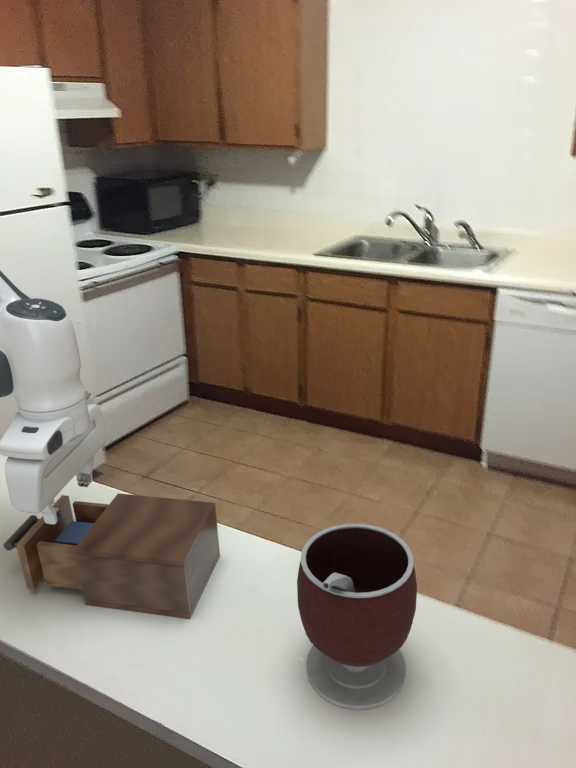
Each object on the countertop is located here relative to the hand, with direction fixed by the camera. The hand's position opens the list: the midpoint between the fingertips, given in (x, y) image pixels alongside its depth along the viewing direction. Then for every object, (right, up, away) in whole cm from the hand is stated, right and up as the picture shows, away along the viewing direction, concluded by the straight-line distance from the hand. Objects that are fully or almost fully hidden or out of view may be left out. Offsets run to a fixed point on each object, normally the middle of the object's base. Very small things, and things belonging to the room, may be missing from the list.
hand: (70, 502), depth 97 cm
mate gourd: (+40, -19, -14) cm, 46 cm away
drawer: (0, -10, +5) cm, 11 cm away
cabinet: (+12, -12, +3) cm, 17 cm away
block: (+1, -9, +4) cm, 10 cm away
